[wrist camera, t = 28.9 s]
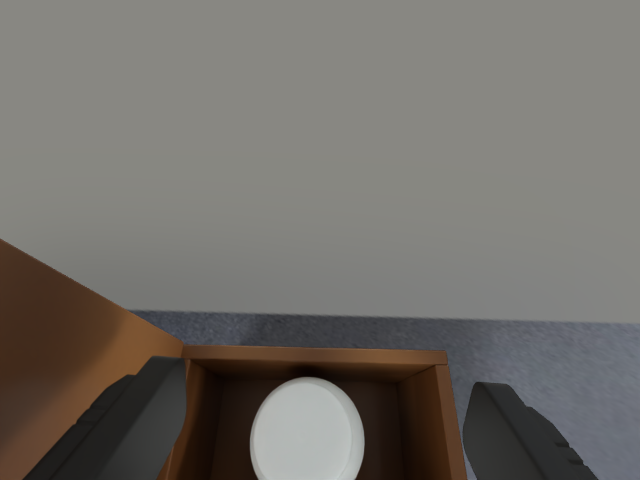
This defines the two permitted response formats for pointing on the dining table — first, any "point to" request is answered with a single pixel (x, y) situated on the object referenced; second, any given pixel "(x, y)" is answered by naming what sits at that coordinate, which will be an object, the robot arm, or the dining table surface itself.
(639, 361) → the dining table surface
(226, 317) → the dining table surface
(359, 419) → the pill bottle
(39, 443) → the lid
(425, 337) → the dining table surface
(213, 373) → the case
